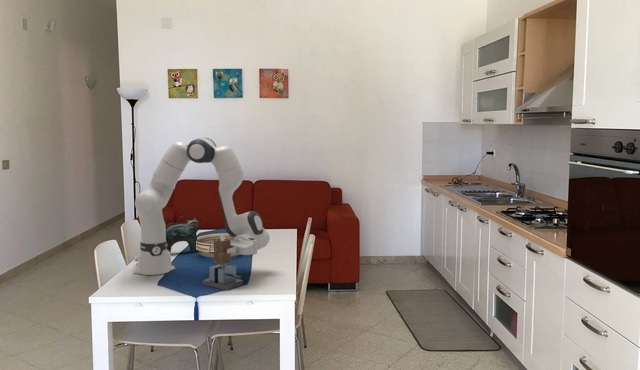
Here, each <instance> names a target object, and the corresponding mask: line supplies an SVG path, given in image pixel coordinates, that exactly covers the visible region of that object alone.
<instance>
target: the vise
mask: <svg viewBox="0 0 640 370" xmlns="http://www.w3.org/2000/svg"><path fill="white" fill-rule="evenodd" d="M225 235H226V234H224V233H222V234H221V233H220V234H219V238H220V241H224V240H225V238H226V237H225ZM208 274H209V278H205V279H203V280H202V286H207V287H210V286H211V288H214V287H215V288H216V289H219V290H224V291H230V290H233V289H235V288H238V287H240V286H243V285H244V280H243V279H241V278H242V276H241V275H237V266H236V265H232V264H230V265H228V263H226V264H223V265H222V264H216V265H215V264H214V265H212V266H209V272H208ZM215 288H214V289H215Z"/></svg>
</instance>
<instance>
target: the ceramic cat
mask: <svg viewBox="0 0 640 370" xmlns="http://www.w3.org/2000/svg"><path fill="white" fill-rule="evenodd" d="M183 217H186V218H187V219H185V223H178V222H176V224H175V222H172V223H169V224H167V225H166V241H167V250H168V251H169V252H170V253H171V254H172V248H173V246H174V245H175V244H177V243H180V242H186V243H187V245H188V247H189V251H190V252H191V253H197V252H196V241H197V242H198V235H197V233H198V231H199V230H200V223H199V222H198V219H197V217H194V218H193V220H189V218H188V216H187V215H182V216H180V219H182V218H183ZM173 224H174V225H173Z"/></svg>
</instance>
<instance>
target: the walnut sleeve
mask: <svg viewBox="0 0 640 370" xmlns="http://www.w3.org/2000/svg"><path fill="white" fill-rule="evenodd" d="M230 240H231V239H230V238H226V237H225V240H224V241H220V237H219V238H215V239H213V241H214V249H213V264H216V265H218V264H222V265H223V264H228V263H231V261H232V259H231V258H232V257H231V256H232V255H231V254H232V253H225V249H227V248H230Z"/></svg>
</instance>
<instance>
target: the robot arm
mask: <svg viewBox="0 0 640 370" xmlns="http://www.w3.org/2000/svg"><path fill="white" fill-rule="evenodd" d="M190 161H191V162H193V163H196V164H208V163H211V165H213V166H214V168H215V172H216V174H217V176H218V181H219V183H218V184H219V185H218V188H217V192H218V198H219V202H220V206H221V207H220V208H221V210H222V215H223V218H224V227H225V231H226V233H227V234H228V235H229V236H230V237H231V238H233V239H230V248H227V249H225V253H231V254H235V255H236V254H237V255H239V256H241V255H242V256H250V255H251V256H252V255H254V256H255V255H257V253H258V251H259V250H261V249H264V248H265V247H267V246H268V244H269V243H270V239H271V238H270V233H269V232H268V231H267V230H266V229H265V228H264V223H263V219H262V216H261V215H260V214H259V213H258V212H257V211H254V210H252V211H251V210H250V211H248V212H244V213H242V214H237V212H236V209H235V205H234V200H233V196H234V192H236V190H238V188H239V187H240V186H241V184H242V182H243V180H244V172H243V171H244V170H243V169H242V167H241V165H240V161H239V159H238V157H237V155H236V153H235V152H234V150H233V148H232V147H230V146H229V145H221V146H217V145H216V143H215V141H213V140H212V139H211V138H210V137H209V138H208V137H198V138H196V139H192V141H190V142H189V143H186V142H184V141H181V140H179V141H178V140H176V141H174V142H173V143H171V145H170V146H169V147H168V148H167V150H166V151H165V152H164V154H163V156H162V157H161V159H160V161H159V162H158V165H157V166H156V169H155V170H154V171H153V175H152V179H151V180H150V183H149V185H148V187H147V188H146V189H145V190H143V191H141V192H139V194H138V195H137V196H136V198H135V200H134V206H135V209H136V210H137V215H138V219H139V225H140V244H139V250H140V251H139V252H138V255H137V256H134V262H136V263H134V264H133V271H132V272H133V273H132V274H134V275H144V276H156V275H164V274H168V273H169V272H171V271H172V270H173V271H174V270H175V269H176V268H175V266H174V265H173V264H172V256H171V255H172V252H171V253H170V252H169V251H168V250H167V241H166V229H167V228H166V226H167V225H166V222H165V220H164V215H163V208H165V207H166V206H167V204H168V202H169V201H170V198H171V196H172V194H173V192H174V190H175V186H176V185H177V183H178V181H179V180H180V178H181V176H182V174H183V172H184V171H185V169H186V167H187V165H188V164H189V163H190ZM211 244H212V246H211V247H212V249H213V250H214V240H213V241H212V243H211Z"/></svg>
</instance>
